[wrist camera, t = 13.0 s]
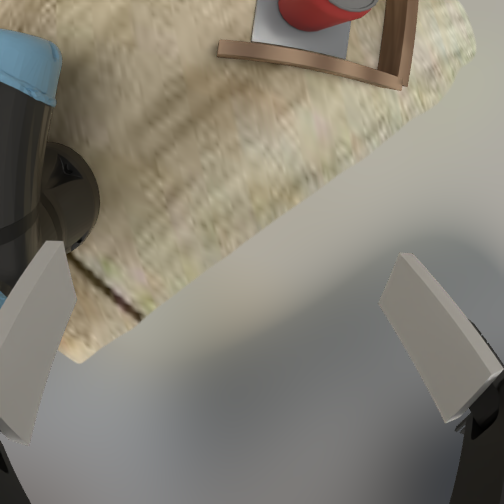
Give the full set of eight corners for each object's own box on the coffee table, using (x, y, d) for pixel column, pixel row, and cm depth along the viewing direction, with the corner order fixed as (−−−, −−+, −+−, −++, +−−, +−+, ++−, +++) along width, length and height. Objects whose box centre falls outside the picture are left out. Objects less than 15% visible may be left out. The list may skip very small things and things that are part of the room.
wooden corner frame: (216, 57, 29) (217, 53, 25) (234, -58, 21) (238, -75, 16) (384, 88, 32) (406, 92, 28) (397, -15, 24) (419, -21, 20)
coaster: (250, 41, 28) (251, 41, 28) (262, -39, 22) (263, -40, 22) (343, 59, 30) (345, 59, 30) (353, -17, 24) (355, -18, 24)
